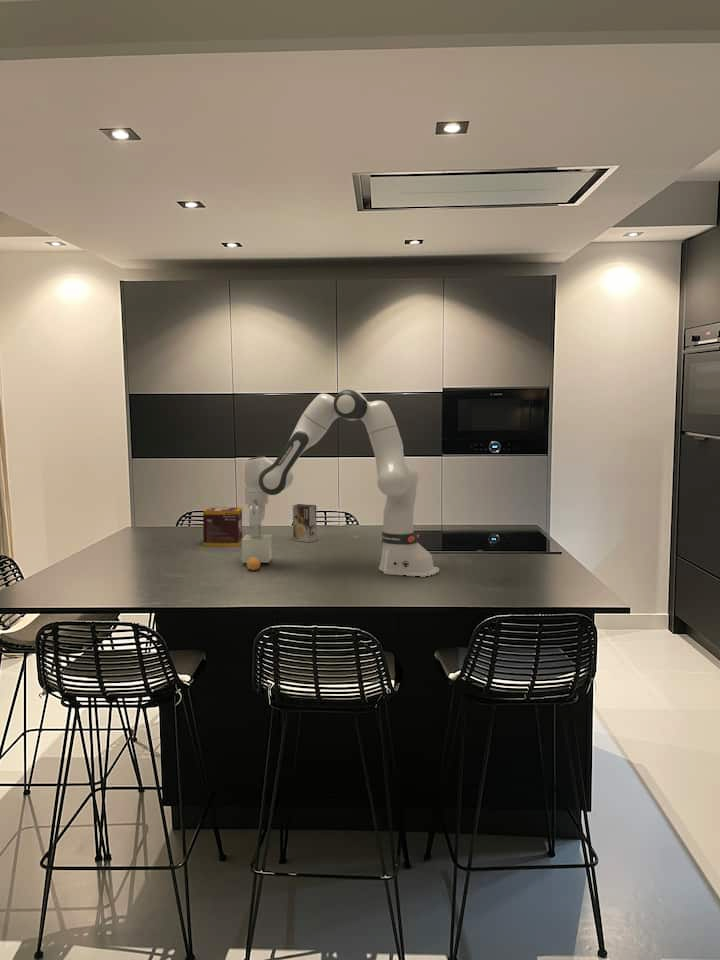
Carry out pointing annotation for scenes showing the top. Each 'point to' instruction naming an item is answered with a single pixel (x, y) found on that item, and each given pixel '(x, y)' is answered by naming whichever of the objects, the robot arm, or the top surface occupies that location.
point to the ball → (253, 563)
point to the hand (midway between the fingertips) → (257, 534)
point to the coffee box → (304, 523)
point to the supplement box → (222, 526)
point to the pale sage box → (256, 546)
